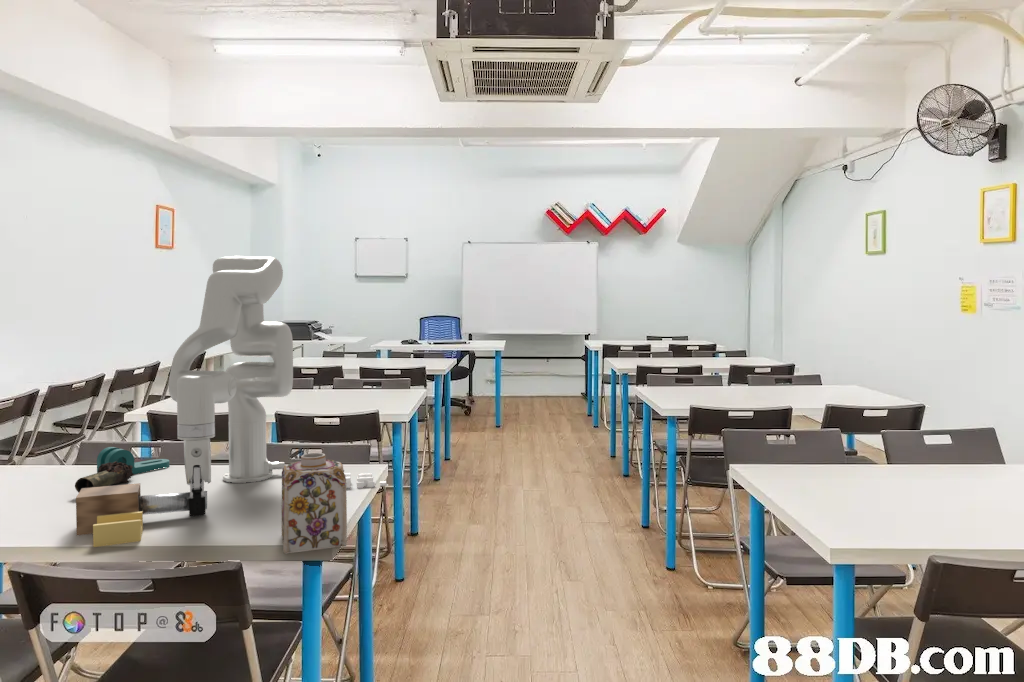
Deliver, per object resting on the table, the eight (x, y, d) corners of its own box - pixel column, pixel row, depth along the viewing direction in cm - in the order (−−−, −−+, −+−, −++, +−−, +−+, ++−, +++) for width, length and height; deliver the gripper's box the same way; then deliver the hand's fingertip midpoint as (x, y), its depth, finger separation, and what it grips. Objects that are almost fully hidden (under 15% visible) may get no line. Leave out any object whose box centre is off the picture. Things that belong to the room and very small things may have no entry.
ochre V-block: (142, 532, 142) (142, 511, 142) (140, 543, 136) (140, 520, 135) (98, 537, 139) (97, 515, 138) (93, 548, 132) (93, 525, 132)
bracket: (108, 480, 185) (108, 451, 185) (97, 477, 189) (96, 448, 189) (174, 468, 200) (173, 441, 200) (162, 465, 204) (161, 439, 204)
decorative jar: (347, 551, 132) (347, 458, 131) (283, 558, 128) (283, 462, 127) (340, 532, 143) (339, 447, 142) (281, 538, 139) (280, 450, 138)
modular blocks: (328, 495, 173) (328, 480, 173) (328, 488, 180) (328, 473, 180) (407, 491, 178) (407, 476, 178) (404, 484, 185) (404, 469, 185)
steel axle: (206, 506, 155) (207, 489, 155) (207, 511, 151) (207, 492, 151) (115, 514, 147) (115, 495, 147) (113, 519, 144) (113, 500, 144)
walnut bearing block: (140, 519, 151) (140, 483, 151) (138, 529, 144) (137, 492, 143) (82, 525, 146) (81, 488, 146) (76, 536, 139) (75, 497, 139)
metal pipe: (93, 496, 167) (94, 473, 167) (67, 495, 167) (67, 472, 167) (137, 480, 185) (137, 459, 185) (113, 479, 185) (113, 458, 185)
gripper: (215, 436, 145) (216, 521, 146) (214, 423, 161) (215, 501, 161) (176, 438, 142) (177, 525, 143) (178, 425, 157) (179, 504, 158)
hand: (197, 511), depth 152 cm, fingers closed on steel axle, 4 cm apart
